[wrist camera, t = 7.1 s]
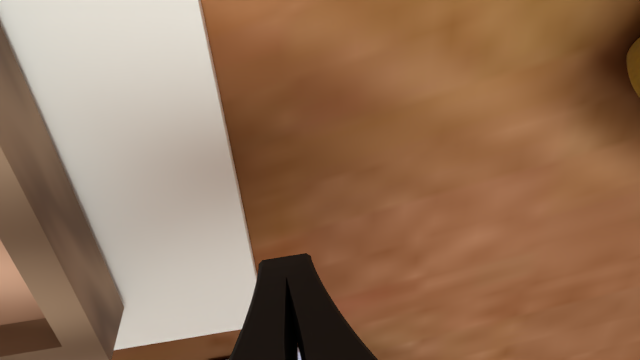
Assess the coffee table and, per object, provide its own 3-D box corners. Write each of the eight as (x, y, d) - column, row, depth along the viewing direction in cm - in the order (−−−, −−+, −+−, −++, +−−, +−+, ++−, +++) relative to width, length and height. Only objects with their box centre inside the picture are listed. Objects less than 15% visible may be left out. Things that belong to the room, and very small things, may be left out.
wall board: (265, 313, 27) (265, 328, 26) (-76, 369, 26) (-86, 386, 25) (172, -136, 16) (169, -135, 15) (-454, -77, 14) (-496, -73, 13)
